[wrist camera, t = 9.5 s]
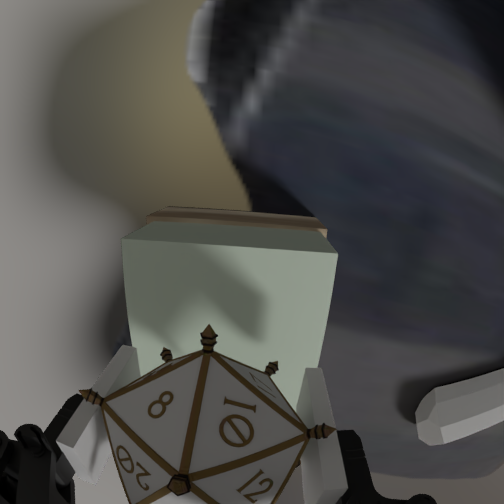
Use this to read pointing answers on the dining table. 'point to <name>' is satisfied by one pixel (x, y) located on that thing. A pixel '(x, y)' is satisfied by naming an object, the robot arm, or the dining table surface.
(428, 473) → the dining table surface
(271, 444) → the game die
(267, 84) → the dining table surface
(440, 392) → the chamfered grey bar
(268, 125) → the dining table surface
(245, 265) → the tower top block
